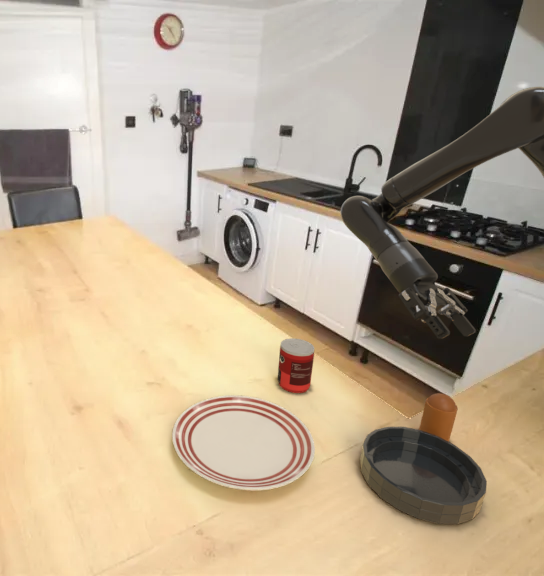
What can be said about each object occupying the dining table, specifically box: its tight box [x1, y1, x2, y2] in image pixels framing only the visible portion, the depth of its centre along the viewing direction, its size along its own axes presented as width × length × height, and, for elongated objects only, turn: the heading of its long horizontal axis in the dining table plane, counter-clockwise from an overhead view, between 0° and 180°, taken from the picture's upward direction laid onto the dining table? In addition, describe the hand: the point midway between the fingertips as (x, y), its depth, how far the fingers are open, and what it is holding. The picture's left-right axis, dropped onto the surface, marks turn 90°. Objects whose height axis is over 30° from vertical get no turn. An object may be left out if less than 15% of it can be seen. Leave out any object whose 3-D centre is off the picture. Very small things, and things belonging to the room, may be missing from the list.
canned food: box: [277, 338, 315, 394], centre depth 100 cm, size 8×8×11 cm
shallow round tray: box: [359, 426, 488, 525], centre depth 72 cm, size 18×18×4 cm
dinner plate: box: [171, 394, 316, 491], centre depth 81 cm, size 28×27×3 cm
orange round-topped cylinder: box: [418, 392, 458, 442], centre depth 81 cm, size 5×5×10 cm
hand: (458, 335), depth 76 cm, fingers open, 8 cm apart
